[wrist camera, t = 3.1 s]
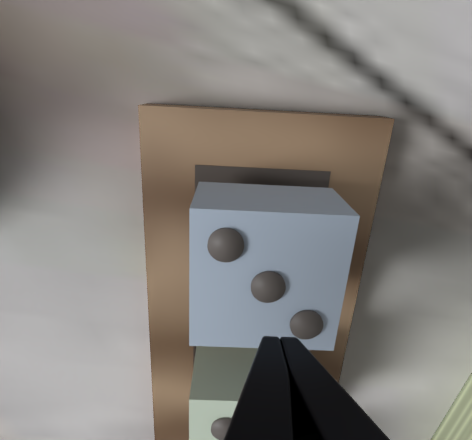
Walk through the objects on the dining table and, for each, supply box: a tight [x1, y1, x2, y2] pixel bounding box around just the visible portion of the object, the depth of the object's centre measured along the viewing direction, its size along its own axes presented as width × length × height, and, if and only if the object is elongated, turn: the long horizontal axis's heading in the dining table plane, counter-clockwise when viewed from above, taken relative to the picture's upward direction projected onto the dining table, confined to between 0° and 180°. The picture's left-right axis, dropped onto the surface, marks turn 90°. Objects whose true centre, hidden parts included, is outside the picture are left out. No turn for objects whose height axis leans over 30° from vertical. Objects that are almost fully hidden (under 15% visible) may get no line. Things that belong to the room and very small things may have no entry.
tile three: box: [189, 182, 360, 351], centre depth 12 cm, size 5×5×3 cm
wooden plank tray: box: [138, 104, 394, 440], centre depth 18 cm, size 25×10×2 cm, turn 177°
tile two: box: [189, 346, 258, 440], centre depth 15 cm, size 5×5×3 cm
